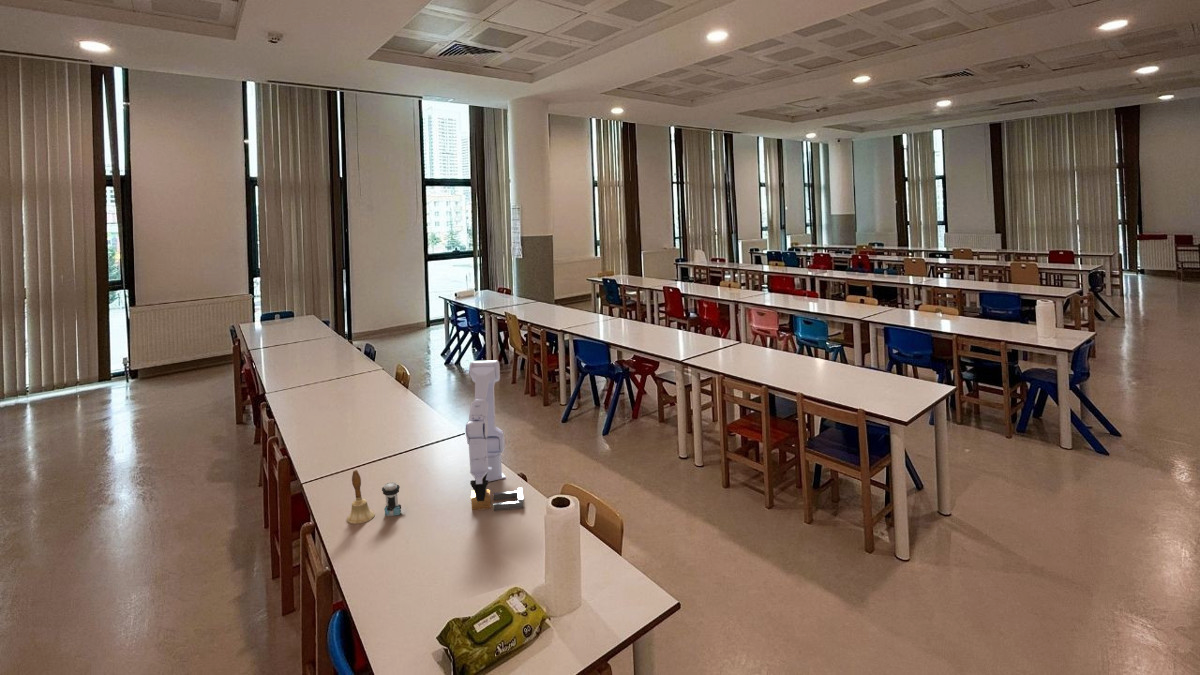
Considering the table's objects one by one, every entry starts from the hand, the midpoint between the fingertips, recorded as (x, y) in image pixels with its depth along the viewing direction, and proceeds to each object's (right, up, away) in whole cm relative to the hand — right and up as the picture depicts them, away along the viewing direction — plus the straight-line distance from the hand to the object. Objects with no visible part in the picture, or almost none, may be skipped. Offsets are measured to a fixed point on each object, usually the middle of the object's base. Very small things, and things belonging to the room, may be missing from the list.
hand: (481, 495), depth 198 cm
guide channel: (+8, -3, +2) cm, 9 cm away
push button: (-27, -5, -4) cm, 28 cm away
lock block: (0, -4, +1) cm, 4 cm away
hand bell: (-37, -6, -6) cm, 38 cm away
